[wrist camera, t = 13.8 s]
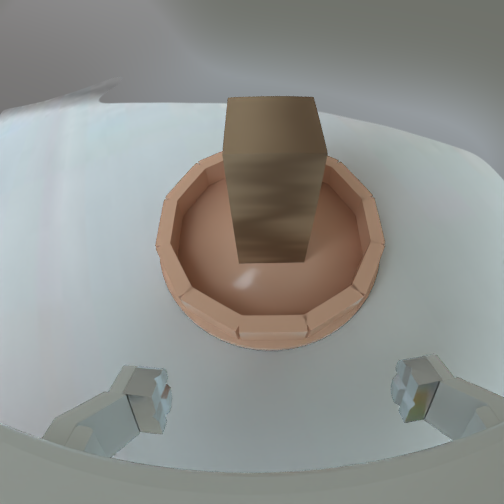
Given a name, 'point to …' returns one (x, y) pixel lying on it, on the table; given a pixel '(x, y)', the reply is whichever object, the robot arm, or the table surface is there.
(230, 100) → the walnut block
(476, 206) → the table surface
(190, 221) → the dish
